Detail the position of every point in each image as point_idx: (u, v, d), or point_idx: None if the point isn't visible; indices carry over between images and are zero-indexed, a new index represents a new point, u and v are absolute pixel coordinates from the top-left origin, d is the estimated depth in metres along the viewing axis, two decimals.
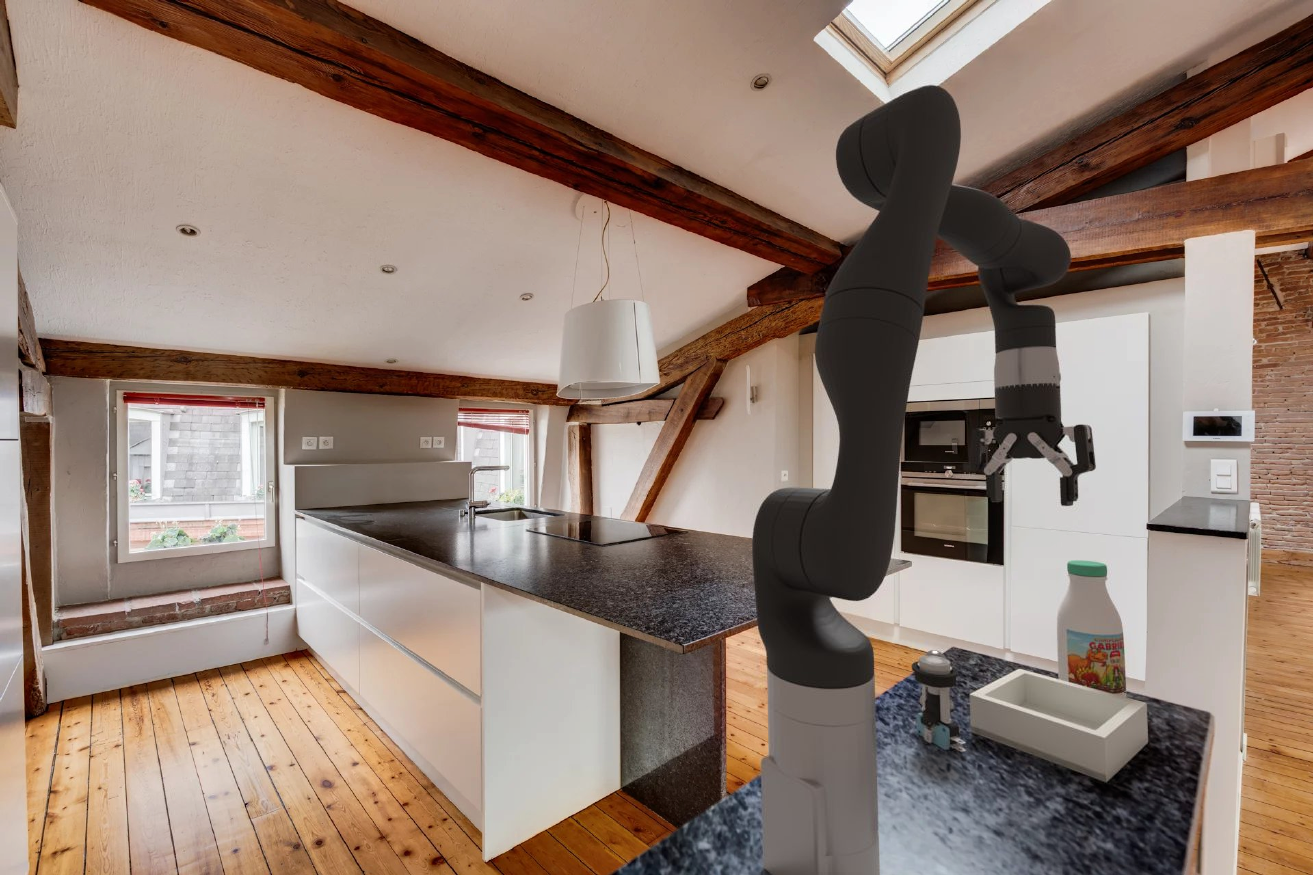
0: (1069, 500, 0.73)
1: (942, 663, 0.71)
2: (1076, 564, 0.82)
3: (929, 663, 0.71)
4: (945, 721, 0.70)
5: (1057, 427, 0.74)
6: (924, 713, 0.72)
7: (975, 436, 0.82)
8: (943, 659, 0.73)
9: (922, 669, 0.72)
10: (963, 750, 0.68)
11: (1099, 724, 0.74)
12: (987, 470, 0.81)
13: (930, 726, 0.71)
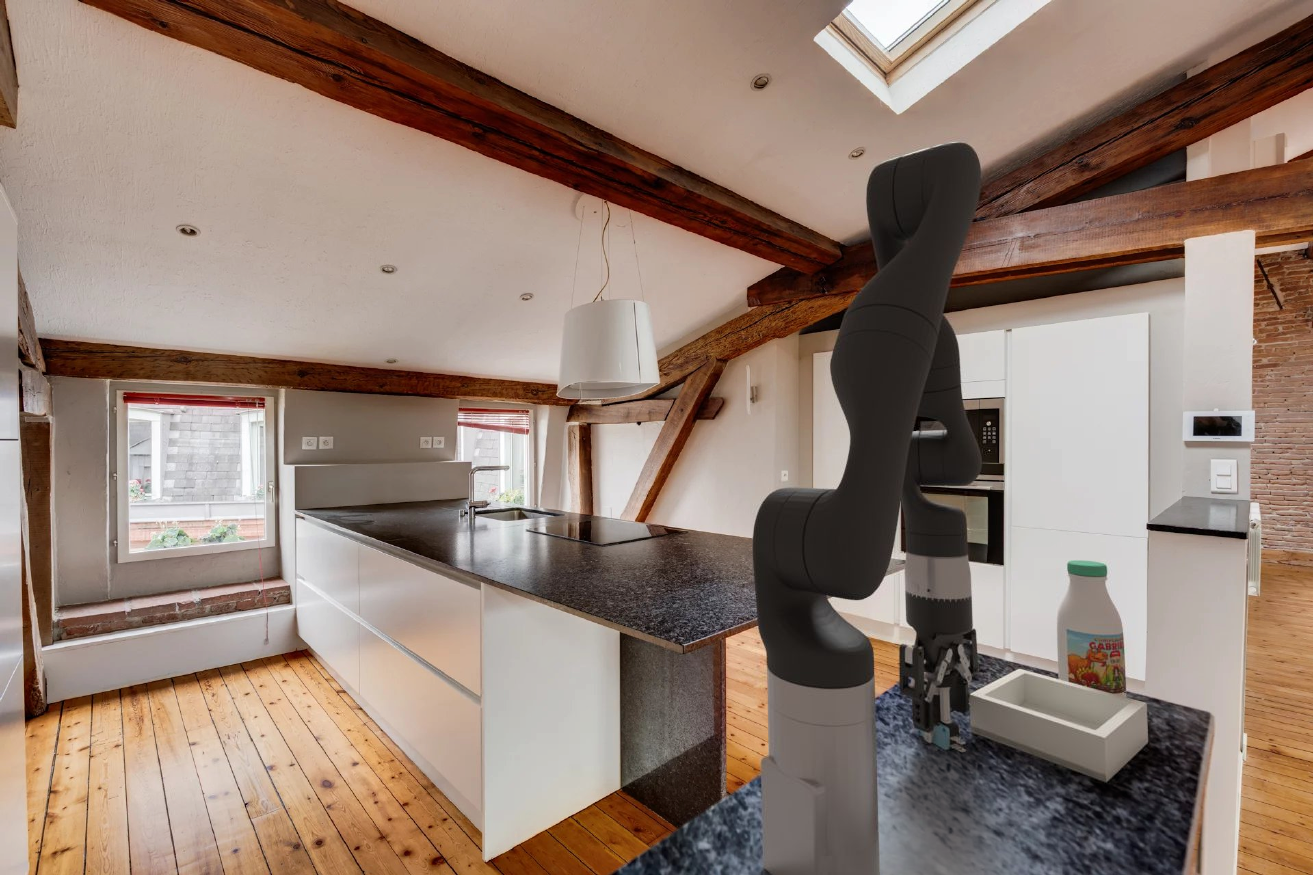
0: None
1: None
2: (1076, 564, 0.82)
3: None
4: (945, 721, 0.70)
5: (962, 633, 0.73)
6: None
7: (920, 658, 0.67)
8: None
9: None
10: (963, 750, 0.68)
11: (1099, 724, 0.74)
12: (930, 697, 0.68)
13: None
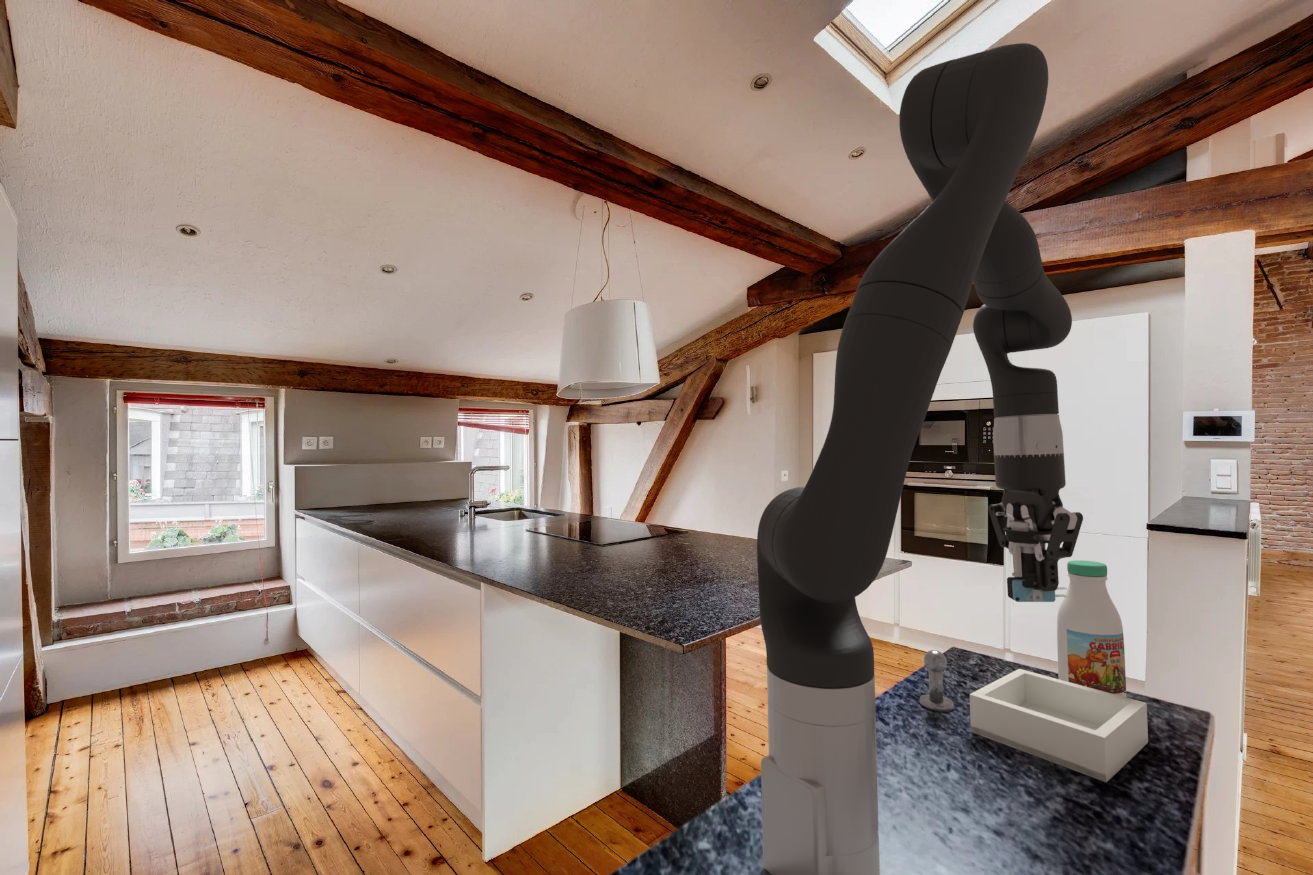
0: None
1: None
2: (1076, 564, 0.82)
3: None
4: None
5: None
6: (1032, 575, 0.71)
7: None
8: None
9: None
10: (1065, 595, 0.72)
11: (1099, 724, 0.74)
12: None
13: None
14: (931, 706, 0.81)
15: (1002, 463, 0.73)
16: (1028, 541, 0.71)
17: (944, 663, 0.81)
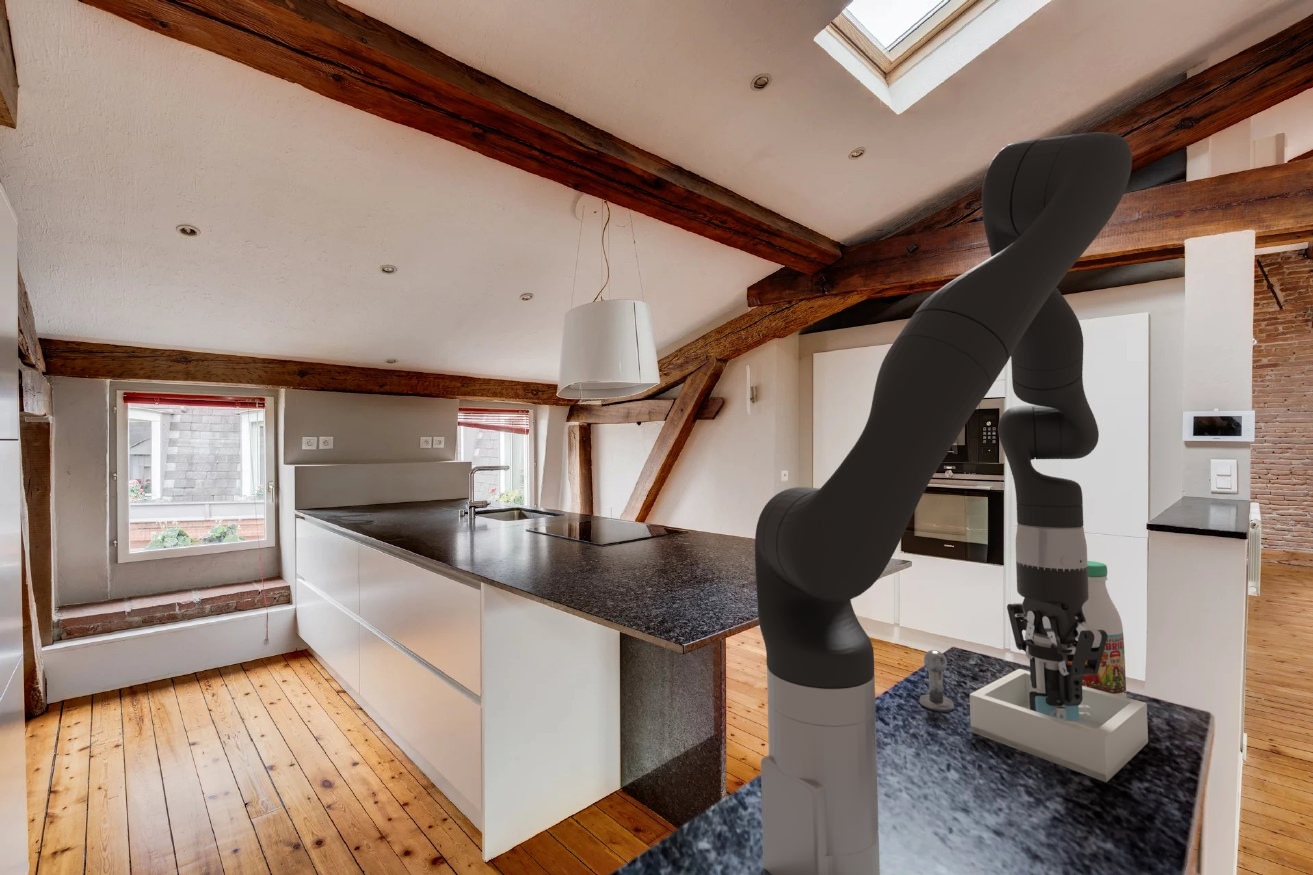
0: None
1: None
2: None
3: None
4: None
5: None
6: (1056, 693, 0.71)
7: None
8: None
9: None
10: (1088, 713, 0.71)
11: (1099, 724, 0.74)
12: None
13: (1062, 704, 0.71)
14: (931, 706, 0.81)
15: (1025, 572, 0.72)
16: (1052, 658, 0.70)
17: (944, 663, 0.81)
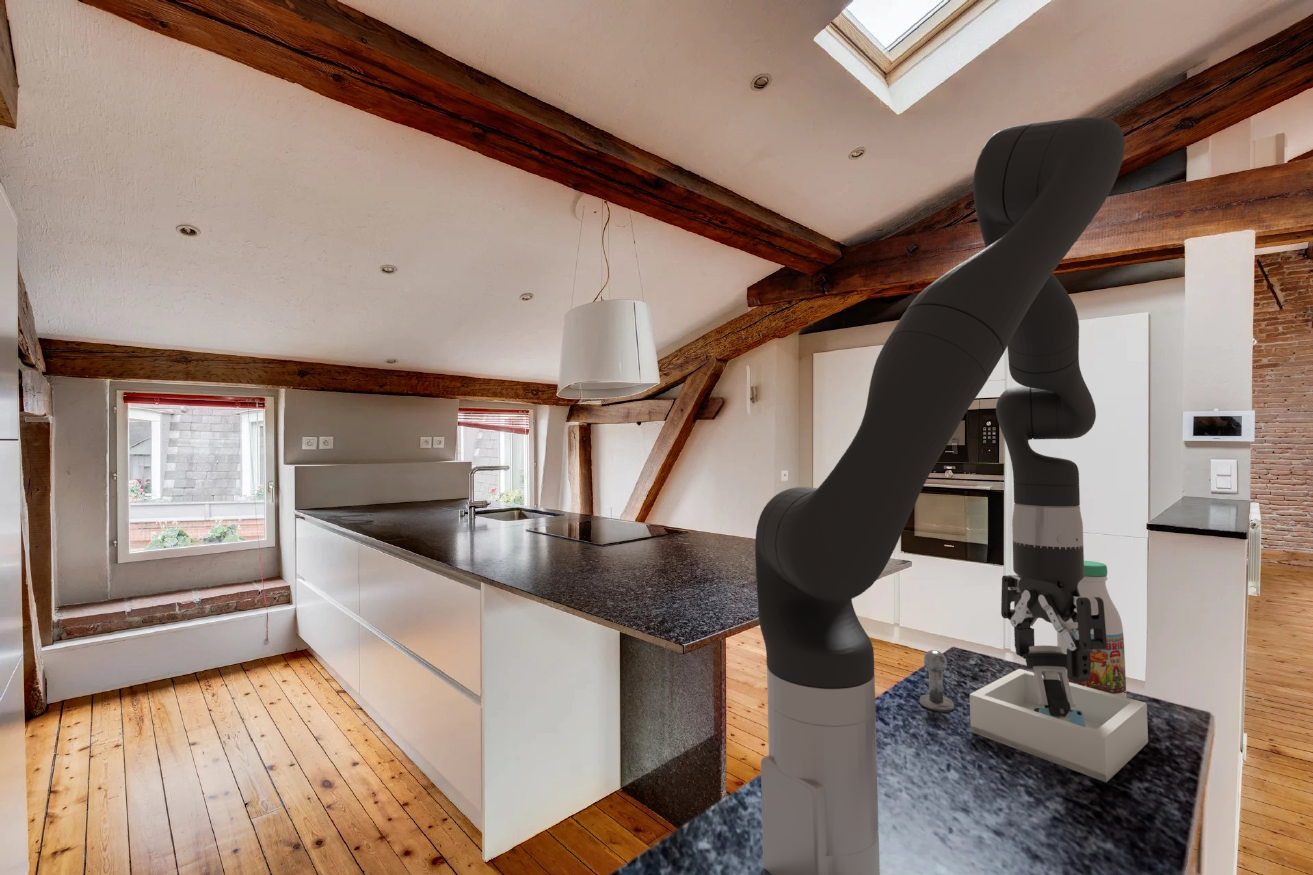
0: None
1: None
2: None
3: (1054, 646, 0.74)
4: (1074, 705, 0.71)
5: None
6: (1057, 701, 0.71)
7: None
8: None
9: None
10: None
11: (1099, 724, 0.74)
12: None
13: (1065, 714, 0.70)
14: (931, 706, 0.81)
15: (1021, 551, 0.73)
16: (1047, 663, 0.72)
17: (944, 663, 0.81)
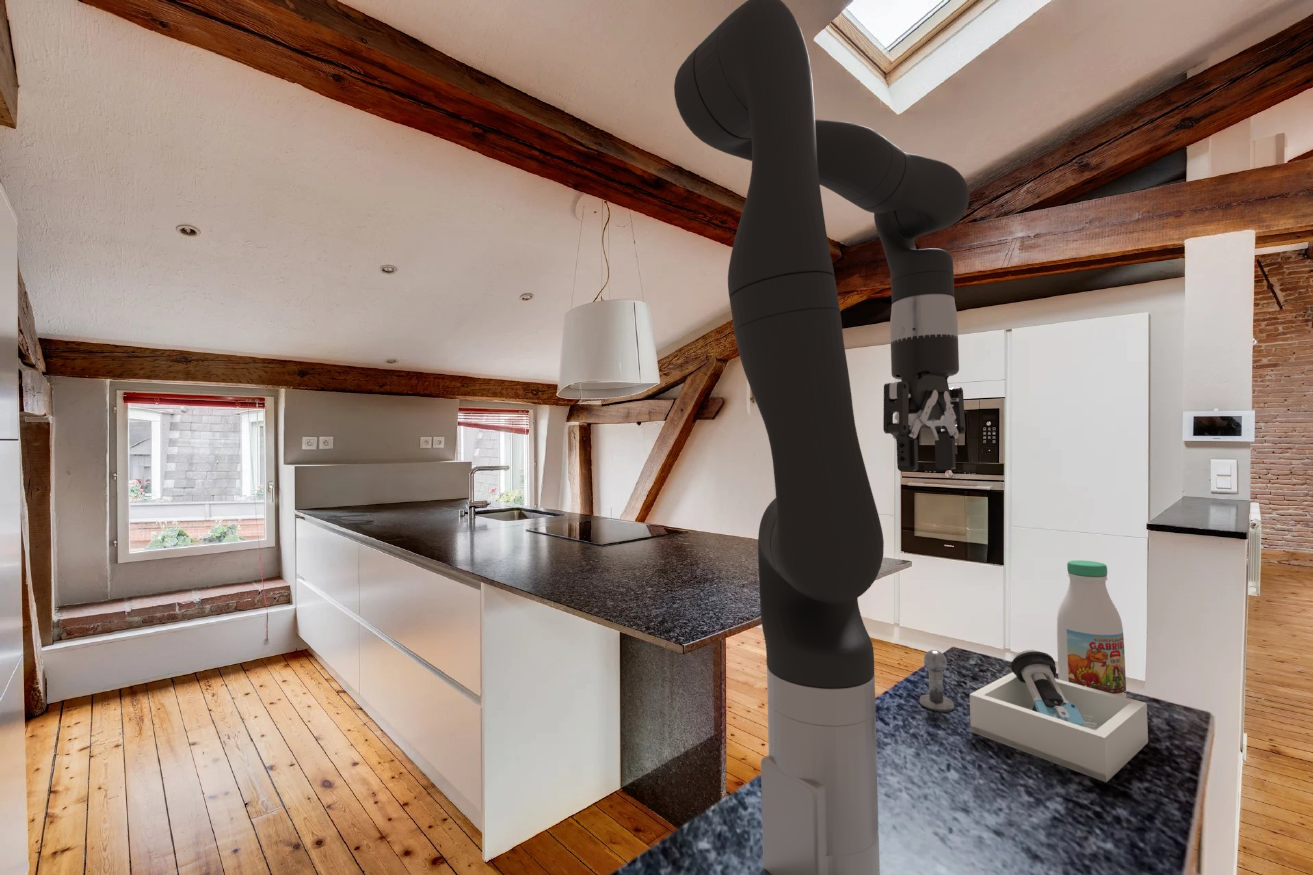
0: None
1: None
2: (1076, 564, 0.82)
3: (1036, 652, 0.79)
4: (1067, 701, 0.73)
5: (948, 388, 0.72)
6: (1049, 693, 0.73)
7: (905, 390, 0.65)
8: None
9: None
10: (1094, 724, 0.71)
11: (1099, 724, 0.74)
12: (915, 433, 0.66)
13: (1060, 704, 0.72)
14: (931, 706, 0.81)
15: None
16: (1032, 660, 0.77)
17: (944, 663, 0.81)
